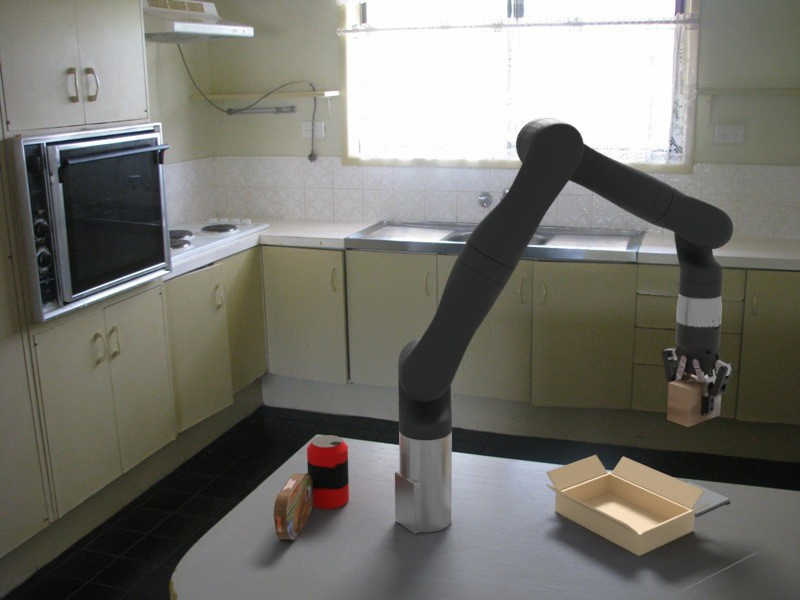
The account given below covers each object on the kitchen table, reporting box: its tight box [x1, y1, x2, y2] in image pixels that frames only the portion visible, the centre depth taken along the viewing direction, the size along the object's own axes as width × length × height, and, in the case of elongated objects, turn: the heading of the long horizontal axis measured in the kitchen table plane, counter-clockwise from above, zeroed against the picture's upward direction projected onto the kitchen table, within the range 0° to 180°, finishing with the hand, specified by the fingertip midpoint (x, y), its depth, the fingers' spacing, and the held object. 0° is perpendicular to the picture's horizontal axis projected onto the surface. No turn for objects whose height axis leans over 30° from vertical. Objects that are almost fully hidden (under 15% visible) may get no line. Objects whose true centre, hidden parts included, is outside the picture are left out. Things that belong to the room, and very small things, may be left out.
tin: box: [273, 472, 314, 541], centre depth 153 cm, size 15×3×8 cm, turn 169°
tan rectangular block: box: [666, 375, 722, 428], centre depth 156 cm, size 9×4×7 cm, turn 124°
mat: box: [686, 481, 731, 517], centre depth 162 cm, size 10×9×1 cm
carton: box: [545, 454, 709, 557], centre depth 153 cm, size 20×26×7 cm
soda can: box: [306, 434, 350, 510], centre depth 162 cm, size 8×8×12 cm
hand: (694, 410), depth 156 cm, fingers closed on tan rectangular block, 4 cm apart
